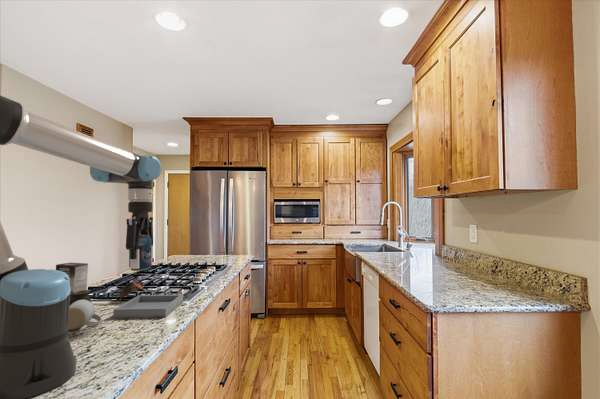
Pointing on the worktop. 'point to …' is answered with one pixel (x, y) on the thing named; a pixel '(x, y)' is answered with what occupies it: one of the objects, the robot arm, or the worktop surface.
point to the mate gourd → (79, 296)
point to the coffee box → (75, 274)
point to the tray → (148, 306)
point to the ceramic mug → (82, 315)
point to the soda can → (144, 253)
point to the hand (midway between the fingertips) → (140, 266)
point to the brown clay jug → (130, 289)
